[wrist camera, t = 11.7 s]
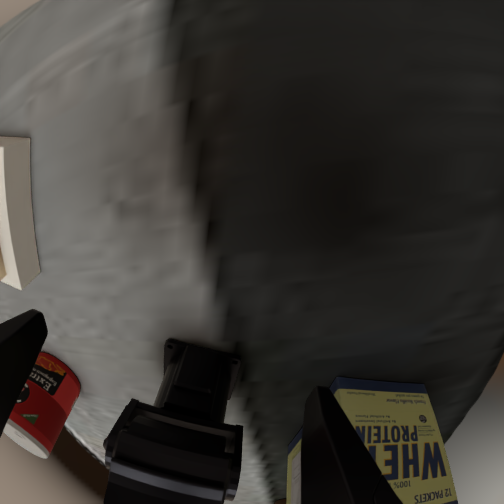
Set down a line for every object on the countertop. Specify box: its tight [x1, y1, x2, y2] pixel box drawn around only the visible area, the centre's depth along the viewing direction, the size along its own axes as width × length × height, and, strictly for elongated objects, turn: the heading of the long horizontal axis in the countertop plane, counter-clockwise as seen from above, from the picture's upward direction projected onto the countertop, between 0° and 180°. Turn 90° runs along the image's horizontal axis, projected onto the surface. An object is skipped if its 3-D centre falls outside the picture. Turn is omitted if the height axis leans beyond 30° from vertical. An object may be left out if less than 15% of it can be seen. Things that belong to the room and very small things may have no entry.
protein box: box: [286, 377, 458, 504], centre depth 22 cm, size 10×16×16 cm
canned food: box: [3, 352, 80, 458], centre depth 26 cm, size 8×8×11 cm
